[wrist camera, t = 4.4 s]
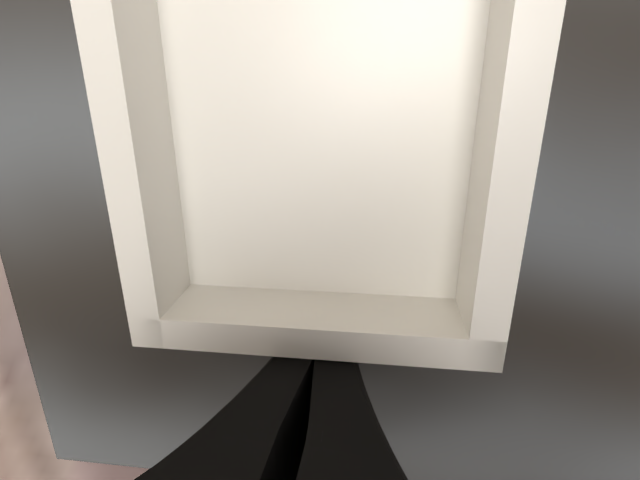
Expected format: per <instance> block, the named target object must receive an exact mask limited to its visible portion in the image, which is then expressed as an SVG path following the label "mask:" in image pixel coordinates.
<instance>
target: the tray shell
mask: <svg viewBox="0 0 640 480" xmlns="http://www.w3.org/2000/svg"><path fill="white" fill-rule="evenodd" d="M70 3H71V9H72V14H73V20H74V25H75V31H76V36H77V42H78V47H79V53H80V58H81V64H82V70H83V75H84V81H85V86H86V92H87V97H88V103H89V108H90V114H91V119H92V125H93V130H94V136H95V142H96V147H97V153H98V158H99V164H100V169H101V175H102V180H103V186H104V191H105V197H106V202H107V208H108V213H109V219H110V225H111V230H112V236H113V241H114V247H115V252H116V258H117V263H118V269H119V274H120V280H121V285H122V291H123V296H124V302H125V308H126V313H127V319H128V324H129V330H130V335H131V341H132V346H134V347H148V348H162V349H176V350H190V351H204V352H218V353H232V354H245V355H259V356H273V357H287V358H301V359H315V360H329V361H343V362H356V363H370V364H384V365H398V366H412V367H426V368H440V369H454V370H467V371H481V372H495V373H502V371H503V366H504V360H505V354H506V348H507V342H508V337H509V331H510V325H511V319H512V313H513V308H514V302H515V296H516V290H517V284H518V279H519V273H520V267H521V261H522V255H523V250H524V244H525V238H526V232H527V226H528V221H529V215H530V209H531V203H532V197H533V192H534V186H535V180H536V174H537V168H538V163H539V157H540V151H541V145H542V139H543V134H544V128H545V122H546V116H547V110H548V105H549V99H550V93H551V87H552V81H553V76H554V70H555V64H556V58H557V52H558V47H559V41H560V35H561V29H562V23H563V18H564V12H565V6H566V0H70Z"/></svg>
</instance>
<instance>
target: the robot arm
mask: <svg viewBox="0 0 640 480" xmlns="http://www.w3.org/2000/svg"><path fill="white" fill-rule="evenodd" d="M134 480H408V478H407V477H406V475H405V473H404V471H403V470H402V468H401V466H400V464H399V462H398V460H397V458H396V456H395V454H394V453H393V451H392V449H391V447H390V445H389V442H388V440H387V438H386V436H385V434H384V432H383V430H382V428H381V425H380V423H379V421H378V419H377V416H376V414H375V412H374V409H373V406H372V404H371V401H370V399H369V396H368V393H367V391H366V388H365V385H364V382H363V379H362V375H361V372H360V368H359V365H358V363H356V362H343V361H329V360H315V359H301V358H287V357H272V358H271V359H270V360H269V361H268V362H267V363H266V364H265V366H264V367H263V368H262V369H261V370H260V371H259V372H258V373H257V374H256V375H255V376H254V377H253V378H252V379H251V380H250V381H249V383H248V384H247V385H246V386H245V387H244V388H243V389H242V390H241V391H240V392H239V393H238V394H237V395H236V396H235V397H234V398H233V399H232V400H231V401H230V402H229V403H228V404H226V405H225V406H224V407H223V408H222V409H221V410H220V411H219V412H218V413H217V414H216V415H215V416H213V417H212V418H211V419H210V420H209V421H208V422H207V423H206V424H205V425H204V426H203V427H201V428H200V429H199V430H198V431H197V432H196V433H194V434H193V435H192V436H191V437H190V438H189V439H187V440H186V441H185V442H184V443H182V444H181V445H180V446H179V447H178V448H176V449H175V450H174V451H172V452H171V453H170V454H169V455H167V456H166V457H165V458H163V459H162V460H161V461H160V462H158V463H157V464H156V465H154V466H153V467H152V468H150V469H149V470H147V471H146V472H145V473H143V474H142V475H140V476H139V477H137V478H136V479H134Z"/></svg>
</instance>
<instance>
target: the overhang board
mask: <svg viewBox="0 0 640 480" xmlns="http://www.w3.org/2000/svg"><path fill="white" fill-rule="evenodd" d="M0 255H1V258H2V262H3V265H4V269H5V273H6V276H7V280H8V284H9V287H10V291H11V294H12V298H13V302H14V305H15V309H16V312H17V316H18V320H19V323H20V327H21V331H22V334H23V338H24V341H25V345H26V349H27V352H28V356H29V359H30V363H31V367H32V370H33V374H34V377H35V381H36V385H37V388H38V392H39V396H40V399H41V403H42V406H43V410H44V414H45V417H46V421H47V424H48V428H49V432H50V435H51V439H52V443H53V446H54V450H55V453H56V457H57V459H66V460H75V461H84V462H94V463H103V464H112V465H121V466H131V467H140V468H149V469H150V468H152V467H153V466H154V465H156V464H157V463H158V462H160V461H161V460H162V459H163V458H165V457H166V456H167V455H169V454H170V453H171V452H172V451H174V450H175V449H176V448H178V447H179V446H180V445H181V444H182V443H184V442H185V441H186V440H187V439H189V438H190V437H191V436H192V435H193V434H194V433H196V432H197V431H198V430H199V429H200V428H201V427H203V426H204V425H205V424H206V423H207V422H208V421H209V420H210V419H211V418H212V417H213V416H215V415H216V414H217V413H218V412H219V411H220V410H221V409H222V408H223V407H224V406H225V405H226V404H228V403H229V402H230V401H231V400H232V399H233V398H234V397H235V396H236V395H237V394H238V393H239V392H240V391H241V390H242V389H243V388H244V387H245V386H246V385H247V384H248V383H249V381H250V380H251V379H252V378H253V377H254V376H255V375H256V374H257V373H258V372H259V371H260V370H261V369H262V368H263V367H264V366H265V364H266V363H267V362H268V361H269V360H270V359H271V358H272V357H273V356H259V355H245V354H232V353H218V352H204V351H190V350H176V349H162V348H148V347H134V346H132V341H131V335H130V330H129V324H128V319H127V313H126V308H125V302H124V296H123V291H122V285H121V280H120V274H119V269H118V263H117V258H116V252H115V247H114V241H113V236H112V230H111V225H110V219H109V213H108V208H107V202H106V197H105V191H104V186H103V180H102V175H101V169H100V164H99V158H98V153H97V147H96V142H95V136H94V130H93V125H92V119H91V114H90V108H89V103H88V97H87V92H86V86H85V81H84V75H83V70H82V64H81V58H80V53H79V47H78V42H77V36H76V31H75V25H74V20H73V14H72V9H71V3H70V0H0ZM358 365H359V368H360V372H361V375H362V379H363V382H364V385H365V388H366V391H367V393H368V396H369V399H370V401H371V404H372V406H373V409H374V412H375V414H376V416H377V419H378V421H379V423H380V425H381V428H382V430H383V432H384V434H385V436H386V438H387V440H388V442H389V445H390V447H391V449H392V451H393V453H394V454H395V456H396V458H397V460H398V462H399V464H400V466H401V468H402V470H403V471H404V473H405V475H406V477H407V478H408V480H640V0H566V6H565V12H564V18H563V23H562V29H561V35H560V41H559V47H558V52H557V58H556V64H555V70H554V76H553V81H552V87H551V93H550V99H549V105H548V110H547V116H546V122H545V128H544V134H543V139H542V145H541V151H540V157H539V163H538V168H537V174H536V180H535V186H534V192H533V197H532V203H531V209H530V215H529V221H528V226H527V232H526V238H525V244H524V250H523V255H522V261H521V267H520V273H519V279H518V284H517V290H516V296H515V302H514V308H513V313H512V319H511V325H510V331H509V337H508V342H507V348H506V354H505V360H504V366H503V371H502V373H495V372H481V371H467V370H454V369H440V368H426V367H412V366H398V365H384V364H370V363H358Z"/></svg>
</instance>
